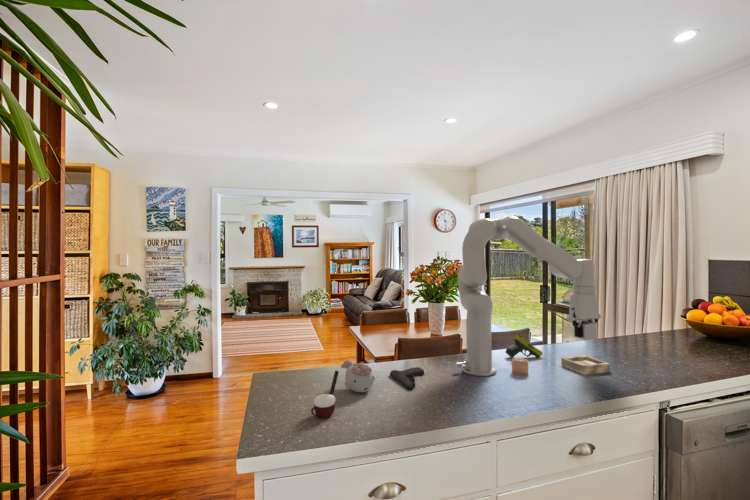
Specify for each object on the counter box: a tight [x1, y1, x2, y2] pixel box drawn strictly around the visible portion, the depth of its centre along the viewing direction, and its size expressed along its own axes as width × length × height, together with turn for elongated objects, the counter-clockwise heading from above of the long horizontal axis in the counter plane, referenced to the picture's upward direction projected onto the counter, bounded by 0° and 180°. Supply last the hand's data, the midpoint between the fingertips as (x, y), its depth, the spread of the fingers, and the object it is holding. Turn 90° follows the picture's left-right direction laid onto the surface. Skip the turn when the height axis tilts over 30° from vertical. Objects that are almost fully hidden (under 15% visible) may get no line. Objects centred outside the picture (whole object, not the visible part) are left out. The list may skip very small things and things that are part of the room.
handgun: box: [389, 366, 425, 391], centre depth 144 cm, size 2×18×13 cm
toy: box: [340, 359, 375, 393], centre depth 137 cm, size 10×15×10 cm, turn 27°
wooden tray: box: [560, 355, 611, 376], centre depth 154 cm, size 12×12×3 cm
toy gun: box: [505, 334, 543, 359], centre depth 171 cm, size 2×14×10 cm
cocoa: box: [310, 370, 340, 419], centre depth 115 cm, size 10×6×12 cm, turn 110°
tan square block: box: [511, 357, 529, 376], centre depth 150 cm, size 6×6×5 cm
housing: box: [573, 319, 597, 341], centre depth 154 cm, size 6×5×7 cm
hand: (584, 335), depth 154 cm, fingers closed on housing, 5 cm apart
